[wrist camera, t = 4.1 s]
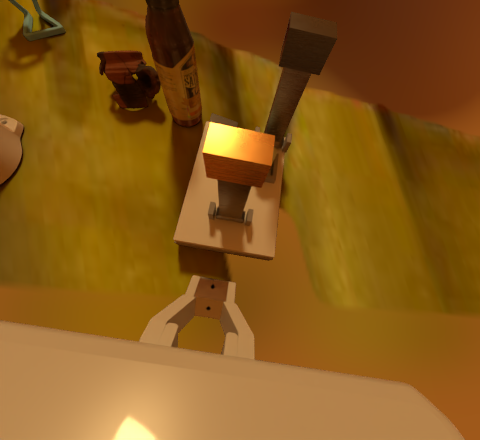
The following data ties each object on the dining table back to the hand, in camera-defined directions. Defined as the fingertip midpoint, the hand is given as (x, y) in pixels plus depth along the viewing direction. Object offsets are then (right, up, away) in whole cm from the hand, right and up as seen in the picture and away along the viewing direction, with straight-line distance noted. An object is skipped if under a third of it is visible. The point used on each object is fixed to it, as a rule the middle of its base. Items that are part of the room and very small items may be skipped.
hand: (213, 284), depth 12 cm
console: (+1, +9, +20) cm, 22 cm away
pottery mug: (-19, +31, +24) cm, 44 cm away
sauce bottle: (-9, +26, +24) cm, 36 cm away
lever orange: (0, +5, +13) cm, 14 cm away
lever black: (+7, +18, +18) cm, 26 cm away
